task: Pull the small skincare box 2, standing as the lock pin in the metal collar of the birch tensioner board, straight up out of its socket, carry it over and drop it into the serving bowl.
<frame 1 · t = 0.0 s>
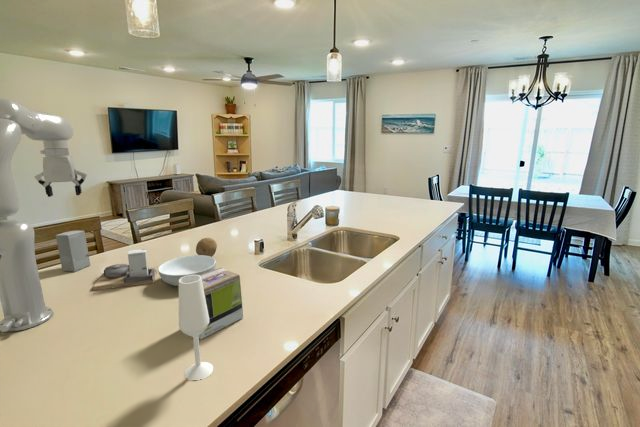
hand: (64, 195, 137), 31 cm above the worktop, fingers open, 9 cm apart
serving bowl: (189, 281, 131), on the worktop
natural sponge: (207, 259, 154), on the worktop
tensioner board: (127, 279, 132), on the worktop
skincare box: (76, 268, 144), on the worktop
champagne flute: (199, 371, 81), on the worktop
tea box: (213, 323, 102), on the worktop
skincare box 2: (140, 280, 131), resting in tensioner board
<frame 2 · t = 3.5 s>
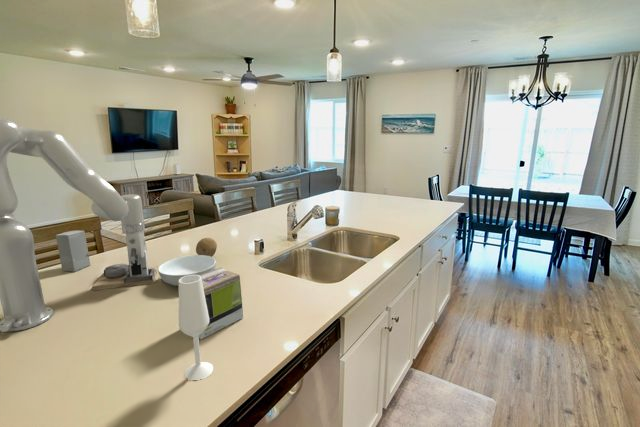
hand: (139, 269, 130), 4 cm above the worktop, fingers open, 9 cm apart
nothing on the worktop moved.
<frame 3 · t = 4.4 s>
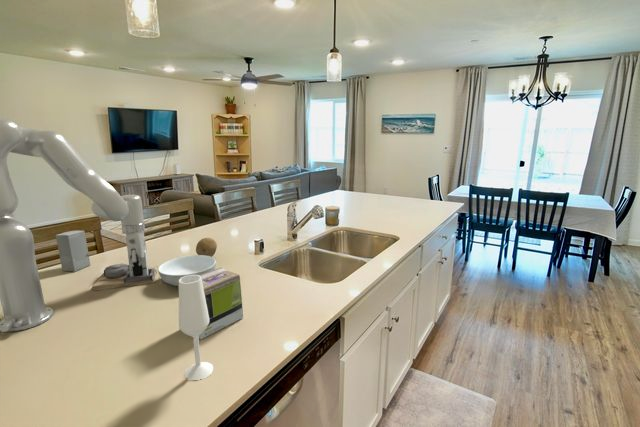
hand: (139, 272, 130), 3 cm above the worktop, fingers closed on skincare box 2, 4 cm apart
skincare box 2: (140, 280, 131), resting in tensioner board, touching gripper
everything else where it was.
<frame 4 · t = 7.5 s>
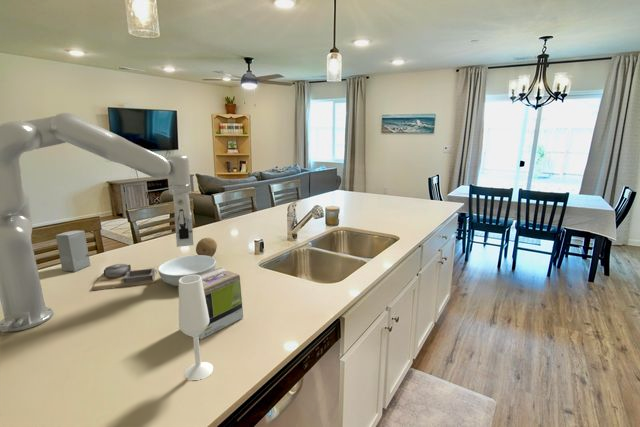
hand: (184, 236, 127), 18 cm above the worktop, fingers closed on skincare box 2, 4 cm apart
skincare box 2: (185, 245, 128), point 14 cm above the worktop, touching gripper
everything else where it was.
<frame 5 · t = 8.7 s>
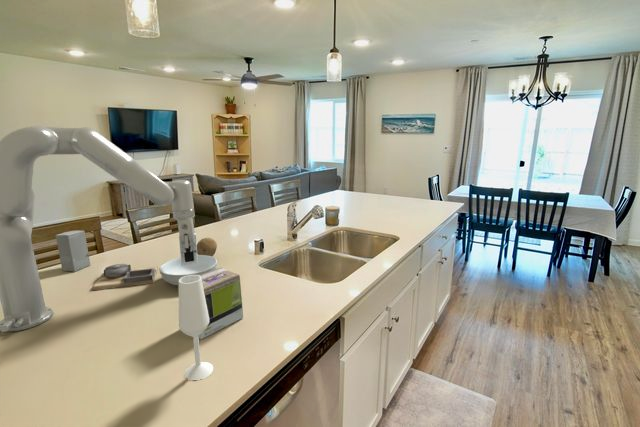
hand: (189, 258, 130), 9 cm above the worktop, fingers closed on skincare box 2, 4 cm apart
serving bowl: (190, 280, 132), on the worktop, touching skincare box 2
skincare box 2: (190, 263, 131), point 6 cm above the worktop, touching gripper, serving bowl
everything else where it was.
when the fingers open (8 cm above the worktop, at t = 9.4 s): skincare box 2 stays where it is, resting on serving bowl.
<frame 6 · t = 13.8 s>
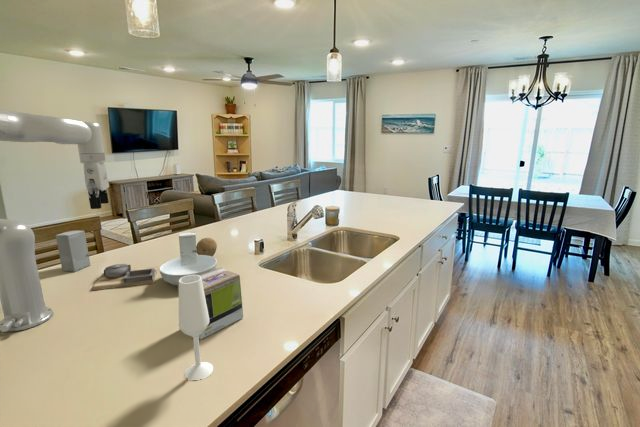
hand: (100, 205, 122), 30 cm above the worktop, fingers open, 9 cm apart
skincare box 2: (189, 264, 131), point 6 cm above the worktop, touching serving bowl
everything else where it was.
at the end: skincare box 2 0.3 cm from the serving bowl (horizontally); skincare box 2 point 6.5 cm above the worktop; the gripper is holding nothing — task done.
